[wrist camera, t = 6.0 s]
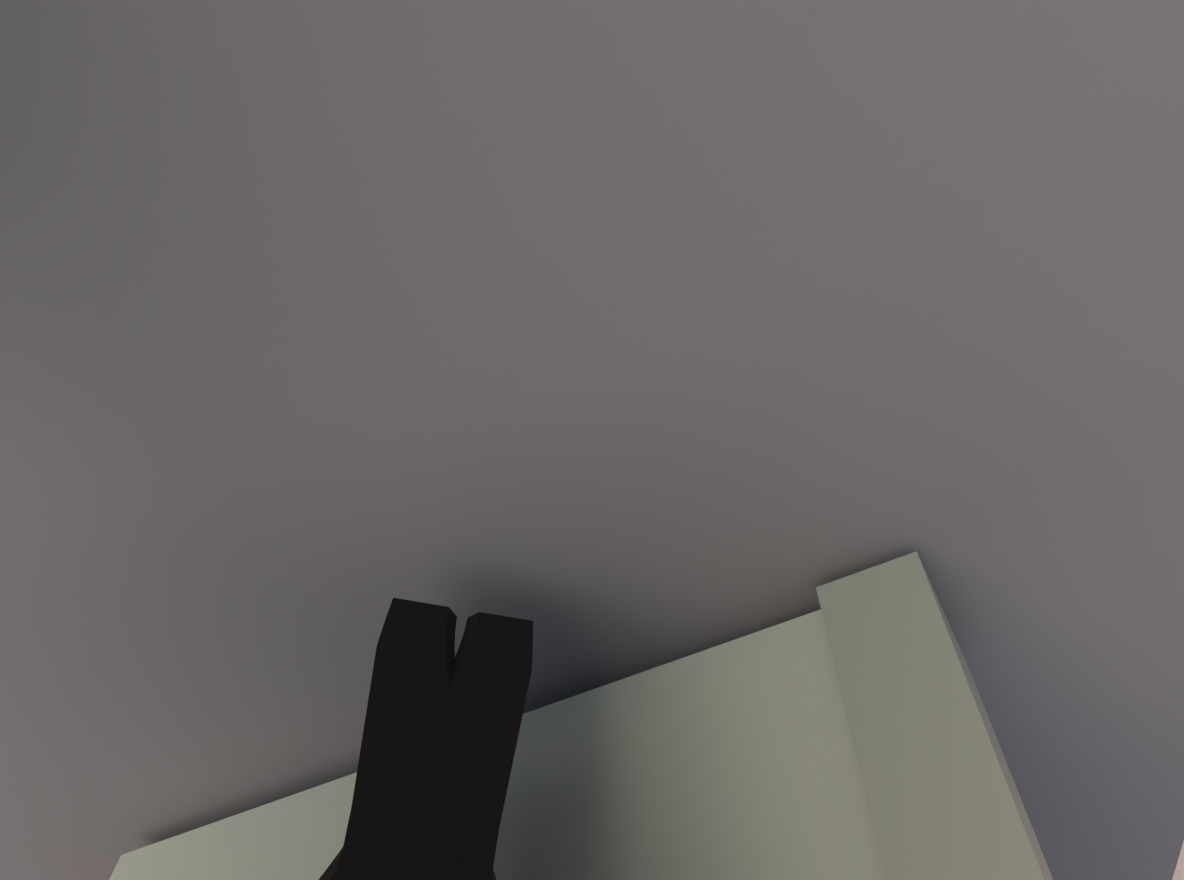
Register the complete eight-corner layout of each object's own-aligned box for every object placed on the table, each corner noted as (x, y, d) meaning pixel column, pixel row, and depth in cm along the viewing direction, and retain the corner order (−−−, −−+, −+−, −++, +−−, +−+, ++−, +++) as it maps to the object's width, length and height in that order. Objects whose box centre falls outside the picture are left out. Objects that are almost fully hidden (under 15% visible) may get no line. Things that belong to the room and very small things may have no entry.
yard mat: (1134, 946, 16) (1145, 971, 16) (52, 991, 18) (41, 1013, 18) (1867, -1727, 5) (1966, -1851, 4) (-1343, -825, 7) (-1455, -861, 6)
